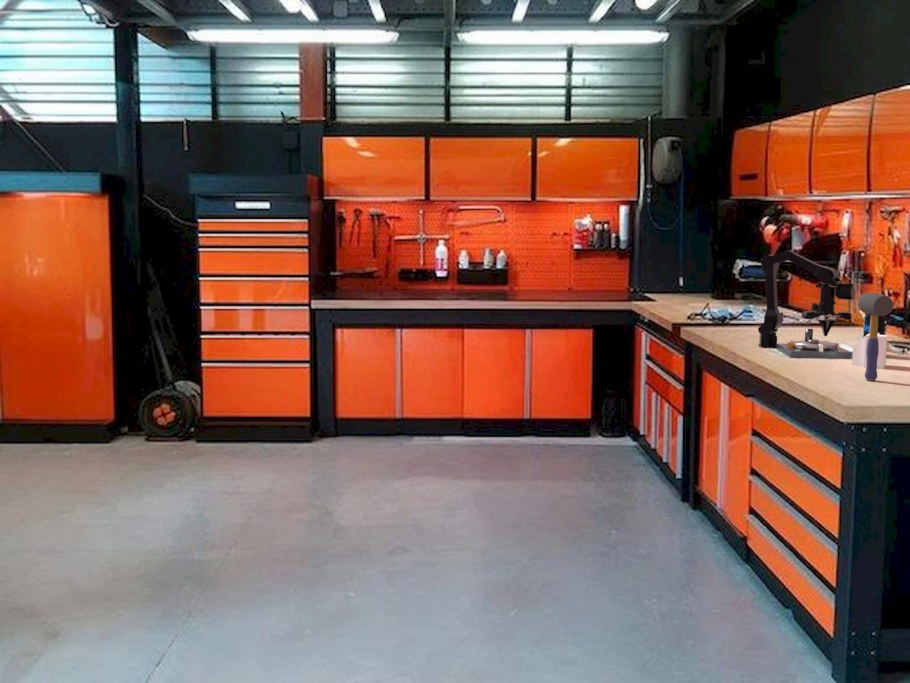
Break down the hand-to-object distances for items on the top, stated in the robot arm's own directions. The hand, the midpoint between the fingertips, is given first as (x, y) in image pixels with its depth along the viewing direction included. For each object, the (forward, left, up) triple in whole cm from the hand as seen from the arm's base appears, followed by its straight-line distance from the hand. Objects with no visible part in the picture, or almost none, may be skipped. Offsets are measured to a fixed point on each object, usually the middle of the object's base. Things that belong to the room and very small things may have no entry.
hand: (825, 336), depth 393 cm
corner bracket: (+6, -37, -7) cm, 38 cm away
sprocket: (-7, -7, -4) cm, 10 cm away
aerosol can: (+16, -11, -7) cm, 20 cm away
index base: (-7, -7, -7) cm, 11 cm away
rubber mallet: (-5, -72, -7) cm, 72 cm away
